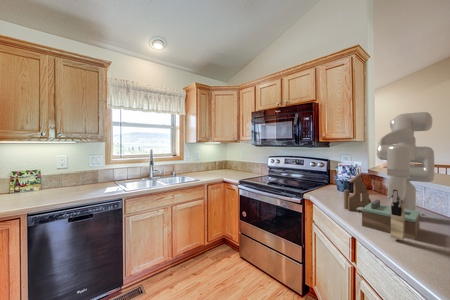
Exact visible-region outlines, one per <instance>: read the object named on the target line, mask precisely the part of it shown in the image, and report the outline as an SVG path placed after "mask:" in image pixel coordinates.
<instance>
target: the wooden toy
mask: <svg viewBox="0 0 450 300" xmlns="http://www.w3.org/2000/svg"><path fill="white" fill-rule="evenodd" d="M361 177H362V174H361V173H358V174H356V175H354V177H353V178H351V179H350V180H349V181H348V182H349V183H353V193H352V194H350V190H349V189H344V190H343V209H345V210H348V211H349V212H356V210H357V209H359V208H364V207H365V206H367V205H368V204H370V203H372V202H373V201H371V199H370V193H369V192H368V191H367V184H365V183H364V182H362V178H361Z"/></svg>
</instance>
